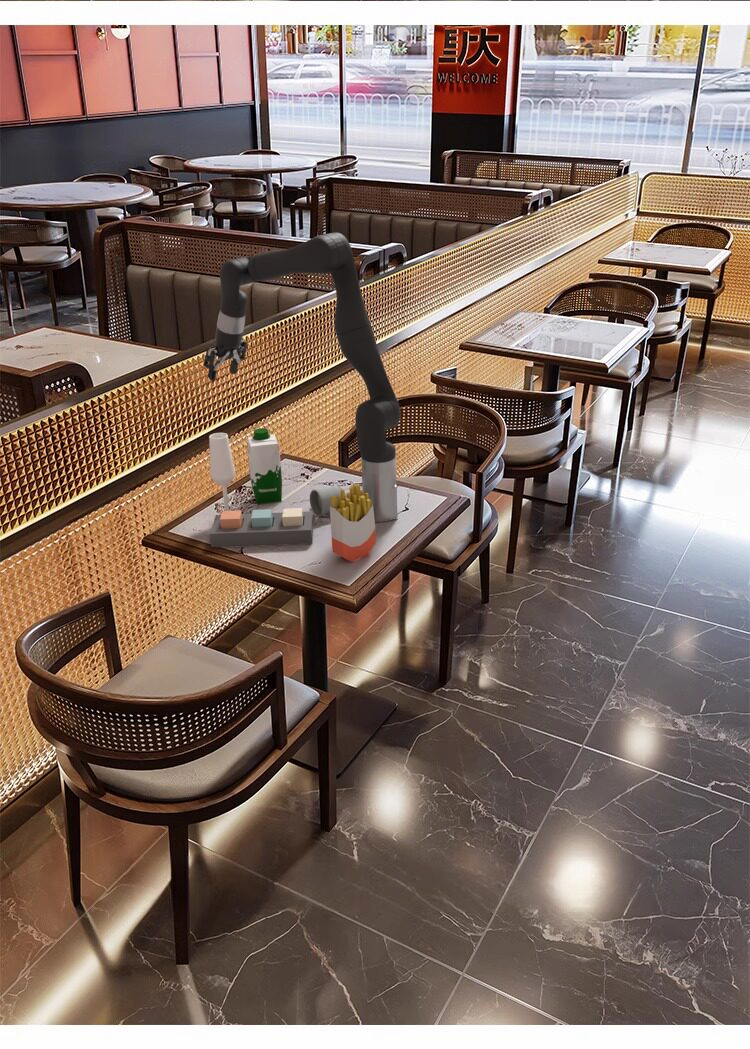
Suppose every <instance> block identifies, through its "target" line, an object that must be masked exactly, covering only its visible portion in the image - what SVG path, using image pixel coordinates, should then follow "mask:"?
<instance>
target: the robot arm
mask: <svg viewBox="0 0 750 1049" xmlns="http://www.w3.org/2000/svg"><path fill="white" fill-rule="evenodd" d="M354 257H355V256H354V254H353V250H352V246H351V244H350V242H349V240H348V239H347V237H345V235H343V233H340V232H329V233H325V234H319V235H317V236H314V237H312V238H310V239H308V240H307V241H304V242H302V243H300V244H298V245H296V246H293V247H289V248H286V249H275V250H269V251H265V252H259V253H257V254H254V255H249V256H248V255H247V256H242V257H238V258H234V259H229V260H226V261H225V262H223V264H222V265H221V268H220V271H219V279H220V280H219V281H220V288H221V296H222V297H221V303H220V309H219V313H218V317H217V322H216V330H215V335H214V336H215V337H214V338H215V342H216V344H215V346H214V348H211V347H207V348H206V351H205V356H204V361H203V366H204V367H205V368H207V369H208V374H207V378H208V379H209V380H210V381H211V382H214V381H216V378H217V377H216V376H217V370H218V368H219V367H220V366H221V365H222V364H224V362H225V361H227V360H230V366H229V372H230V373H231V374H232V375H236V374H237V373H238V369H239V364H240V363H241V361H244V360H246V356H247V354H246V353H247V347H248V342H247V341H246V340H244V339H243V336H244V329H245V326H246V325H245V324H246V312H247V307H248V301H249V299H248V295H247V293H245V292H244V291H242V290H240V287H241V286H244V285H249V284H252V283H256V282H266V281H272V280H275V279H280V278H285V277H287V276H291V275H294V274H315V275H316V274H319V275H327V274H330V275H331V278H332V281H333V284H334V288H335V294H336V301H335V303H336V304H335V309H334V310H335V311H334V312H335V313H334V330H335V335H336V338H337V341H338V344H339V347H340V351H341V353H342V355H343V356H344V357H345V359H346V361H347V362H348V363H349V364H350V365H351V366H352V368H353V369H354V370H355V371H356V372H357V373H358V374H359V375H360V376H361V378H362V380H363V382H364V384H365V386H366V389H367V392H368V395H369V399H367V400H365V401H363V402H361V403H360V404H359V405H358V407H357V408H356V412H355V430H356V431H355V432H356V441H357V442H356V443H357V447H358V450H359V451H360V460H361V463H360V464H361V484H362V485H361V487H362V490H363V491H364V493H369V497H370V499H371V501H372V503H373V510H374V520H375V523H382V522H384V523H385V522H389V521H392V520H396V519H398V485H397V453H396V451H397V450H396V446H395V445H394V444H393V443H392V442H389V441H387V439H386V438H387V436H386V432H387V431H389V430H391V429H393V428H395V427H396V426H398V425H399V423H400V420H401V415H402V414H401V407H400V404H399V401H398V398H397V396H396V394H395V392H394V389H393V387H392V384H391V382H390V380H389V377H388V374H387V372H386V369H385V365H384V363H383V359H382V357H381V353H380V351H379V347H378V345H377V340H376V336H375V333H374V329H373V327H372V324H371V320H370V317H369V315H368V312H367V311H368V310H367V307H366V304H365V301H364V296H363V294H362V291H361V287H360V284H359V283H360V282H359V279H358V277H359V276H358V272H357V268H356V263H355V258H354ZM217 358H218V359H217ZM214 363H215V364H214Z"/></svg>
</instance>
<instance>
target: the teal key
mask: <svg viewBox="0 0 750 1049" xmlns="http://www.w3.org/2000/svg"><path fill="white" fill-rule="evenodd" d="M273 513H274V512H273V509H272V508H271V509H266V508H265V509H253V510H252V513H251V514H252V517H251V522H252V528H254V527H272V525H273Z"/></svg>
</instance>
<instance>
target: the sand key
mask: <svg viewBox="0 0 750 1049" xmlns="http://www.w3.org/2000/svg"><path fill="white" fill-rule="evenodd" d="M282 512H283V515H282V521H283V526H303V512H304V510H303V507H297V508H293V507H292V508H283V511H282Z"/></svg>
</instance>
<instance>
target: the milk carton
mask: <svg viewBox="0 0 750 1049" xmlns="http://www.w3.org/2000/svg"><path fill="white" fill-rule="evenodd" d="M280 451H281V450H280V446H279V442H278V440H277V437H276V436H275V433H273V434H269V430H268V428H263V427H262V428H256V429H254V430H253V435H252V436H248V437H247V456H248V465H249V467H248V468H249V477H250V485H251V487H252V488H251V489H252V490H253V494H254V498H255V501H256V504H257V505H266V504H273V503H274V504H275V503H282V499H283V498H282V497H283V495H282V494H283V490H282V489H283V475H282V467H281V466H282V465H281V463H282V462H281V454H280Z"/></svg>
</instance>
